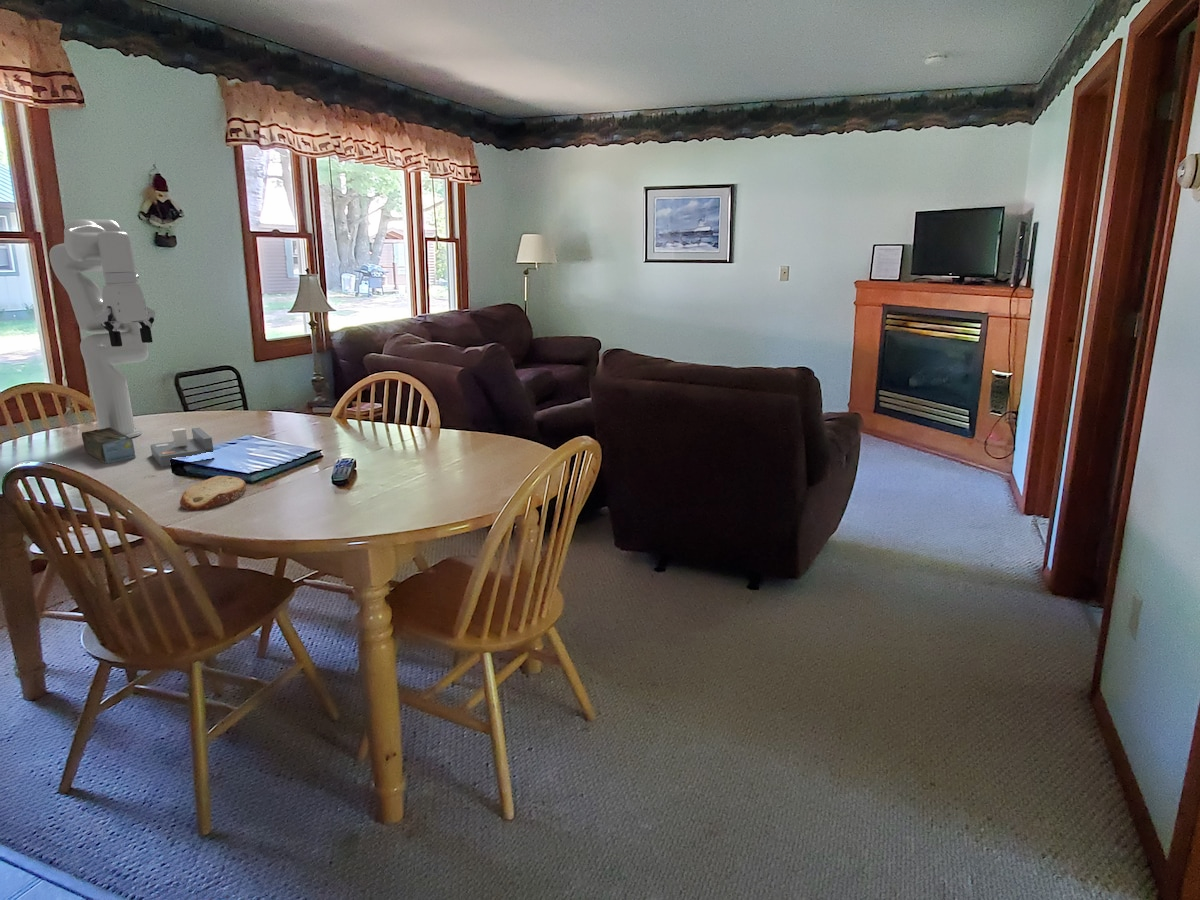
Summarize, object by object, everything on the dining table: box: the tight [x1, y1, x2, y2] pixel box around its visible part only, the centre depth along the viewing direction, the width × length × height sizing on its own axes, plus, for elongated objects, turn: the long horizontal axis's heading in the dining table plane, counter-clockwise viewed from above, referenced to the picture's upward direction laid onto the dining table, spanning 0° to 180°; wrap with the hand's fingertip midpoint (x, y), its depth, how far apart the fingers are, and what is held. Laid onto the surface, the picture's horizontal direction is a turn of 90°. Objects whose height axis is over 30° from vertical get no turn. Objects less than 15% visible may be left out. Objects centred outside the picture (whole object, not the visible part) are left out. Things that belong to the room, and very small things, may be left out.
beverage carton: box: [81, 427, 137, 464], centre depth 222 cm, size 8×19×7 cm, turn 47°
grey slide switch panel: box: [149, 427, 214, 468], centre depth 219 cm, size 16×13×6 cm
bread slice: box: [179, 475, 248, 512], centre depth 185 cm, size 18×18×4 cm
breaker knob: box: [171, 427, 188, 447], centre depth 218 cm, size 2×3×4 cm
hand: (132, 344), depth 213 cm, fingers open, 9 cm apart
